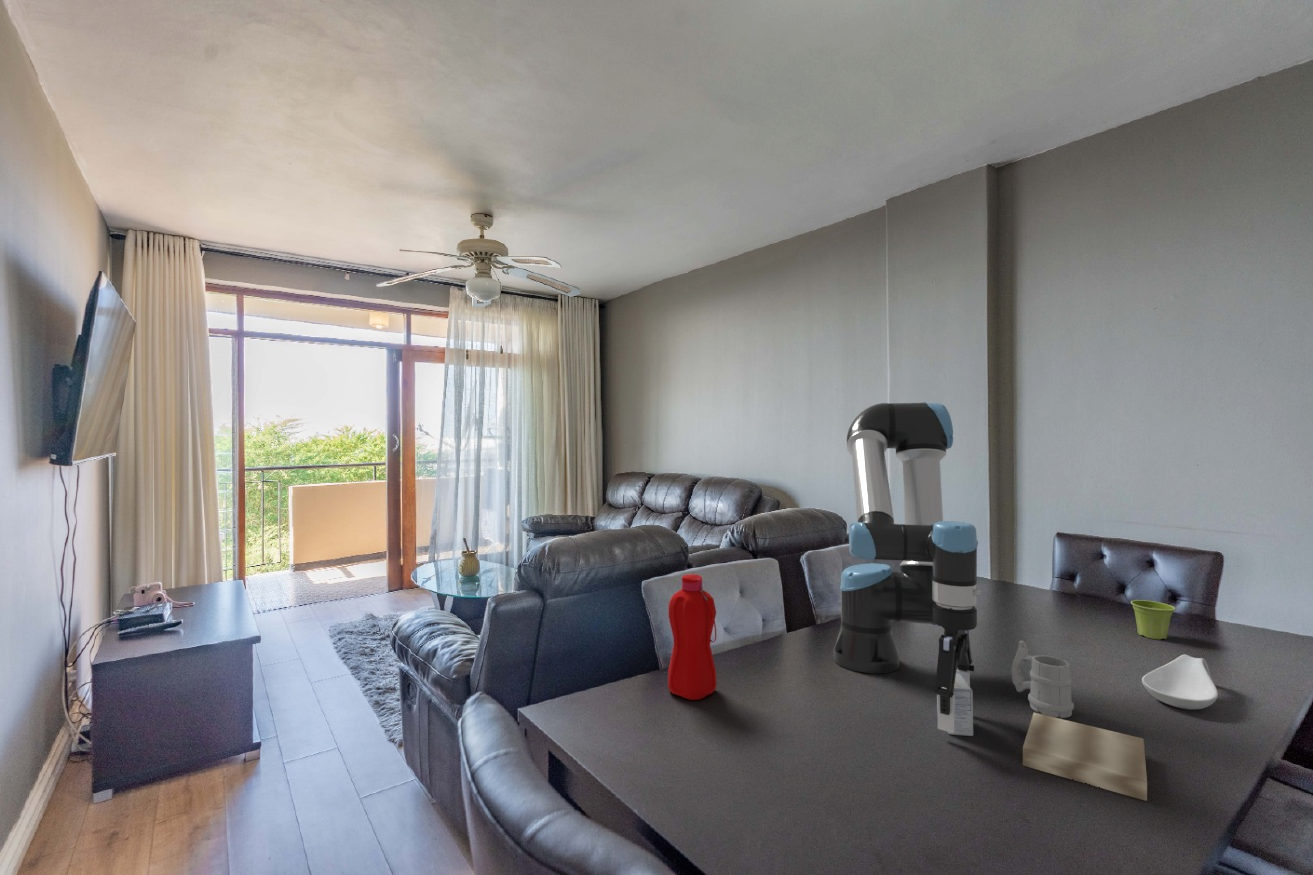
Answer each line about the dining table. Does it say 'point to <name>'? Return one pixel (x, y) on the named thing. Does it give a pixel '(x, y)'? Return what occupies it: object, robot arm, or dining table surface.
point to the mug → (1044, 682)
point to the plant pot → (1152, 618)
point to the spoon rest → (1182, 683)
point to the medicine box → (962, 707)
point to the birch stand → (1087, 755)
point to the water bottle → (692, 640)
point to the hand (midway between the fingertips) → (954, 716)
